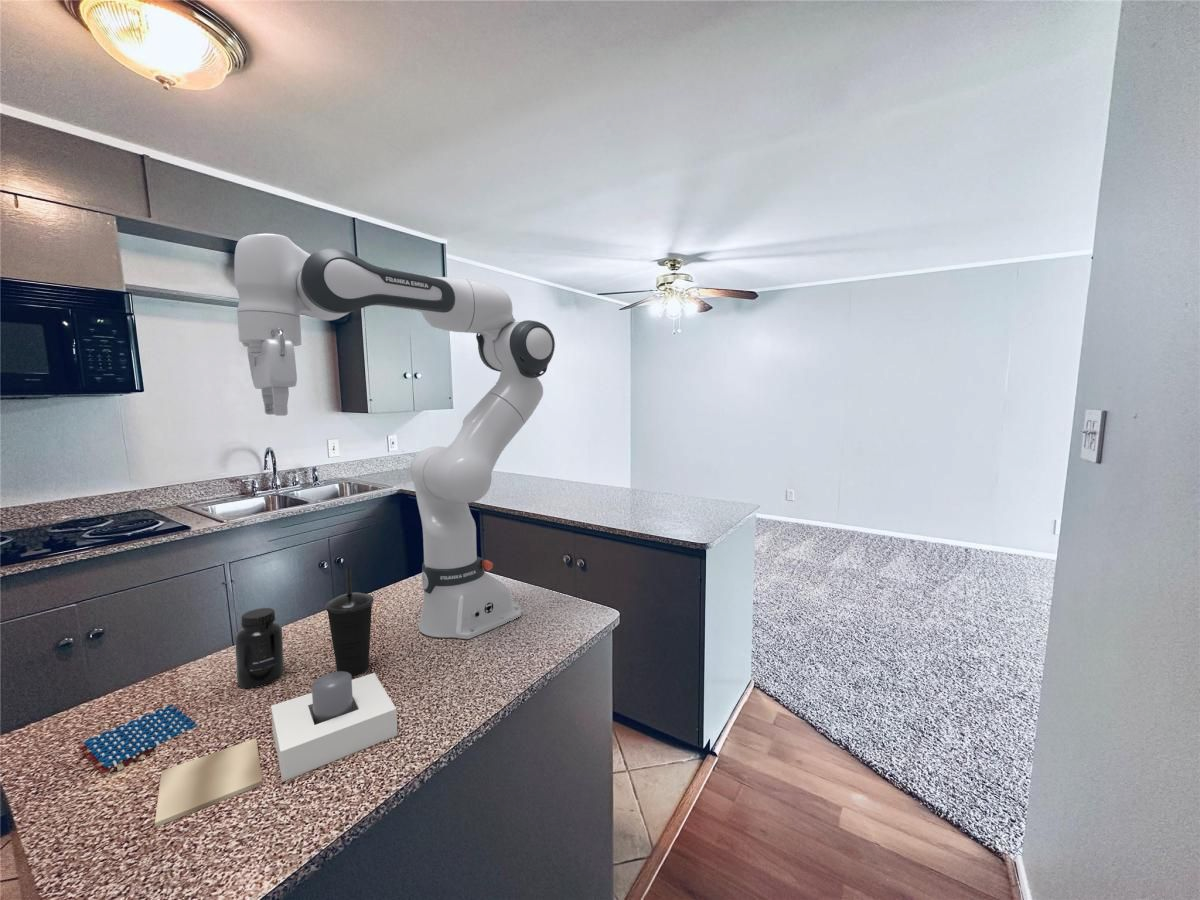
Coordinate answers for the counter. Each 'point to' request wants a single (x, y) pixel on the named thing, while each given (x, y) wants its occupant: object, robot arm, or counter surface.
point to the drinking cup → (350, 629)
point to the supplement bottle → (259, 648)
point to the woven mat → (134, 739)
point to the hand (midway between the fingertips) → (275, 415)
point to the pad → (207, 781)
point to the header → (331, 728)
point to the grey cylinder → (332, 696)
